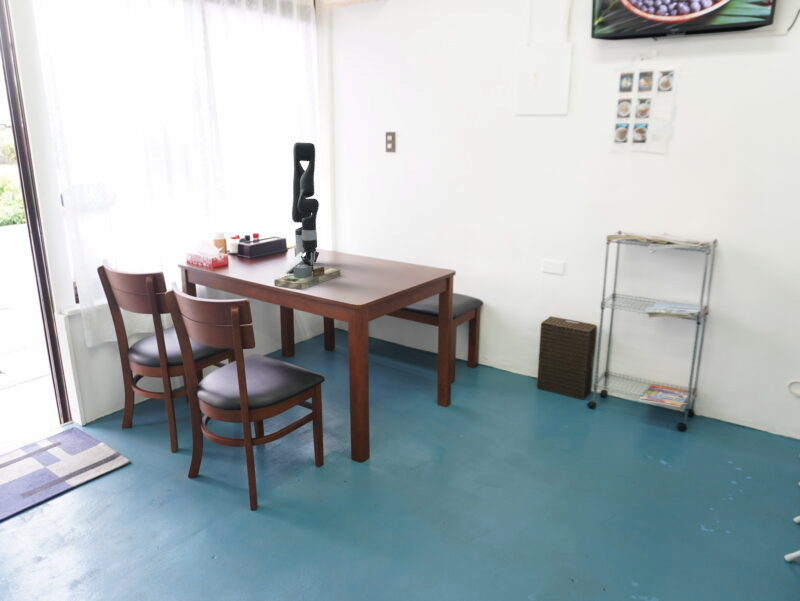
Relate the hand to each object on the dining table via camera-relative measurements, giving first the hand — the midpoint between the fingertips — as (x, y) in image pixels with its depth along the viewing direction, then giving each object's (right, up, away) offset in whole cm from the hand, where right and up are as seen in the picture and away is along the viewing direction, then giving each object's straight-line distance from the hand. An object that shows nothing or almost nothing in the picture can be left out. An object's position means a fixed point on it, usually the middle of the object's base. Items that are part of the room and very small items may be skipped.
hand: (310, 271), depth 292 cm
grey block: (-3, -3, -5) cm, 6 cm away
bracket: (-10, +2, +25) cm, 27 cm away
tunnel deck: (-1, -4, 0) cm, 5 cm away
